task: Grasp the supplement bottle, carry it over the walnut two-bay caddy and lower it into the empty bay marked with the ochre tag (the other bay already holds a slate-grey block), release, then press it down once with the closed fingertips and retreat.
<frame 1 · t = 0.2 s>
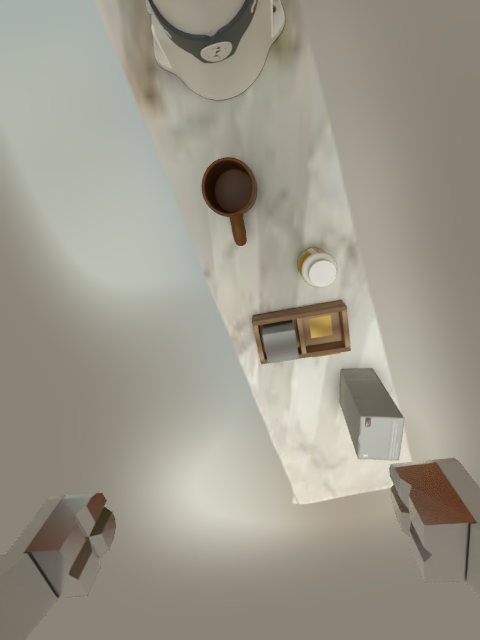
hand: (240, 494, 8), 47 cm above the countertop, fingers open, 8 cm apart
caddy: (299, 328, 57), on the countertop
supplement bottle: (312, 262, 52), on the countertop
skincare box: (353, 384, 60), on the countertop
mug: (237, 205, 50), on the countertop
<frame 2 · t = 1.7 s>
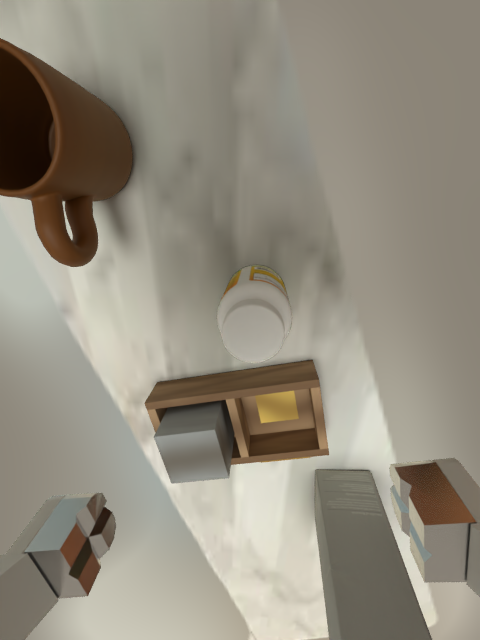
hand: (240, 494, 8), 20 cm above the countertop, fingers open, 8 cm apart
caddy: (240, 405, 32), on the countertop
supplement bottle: (256, 292, 28), on the countertop
skincare box: (337, 491, 36), on the countertop
mug: (102, 181, 25), on the countertop
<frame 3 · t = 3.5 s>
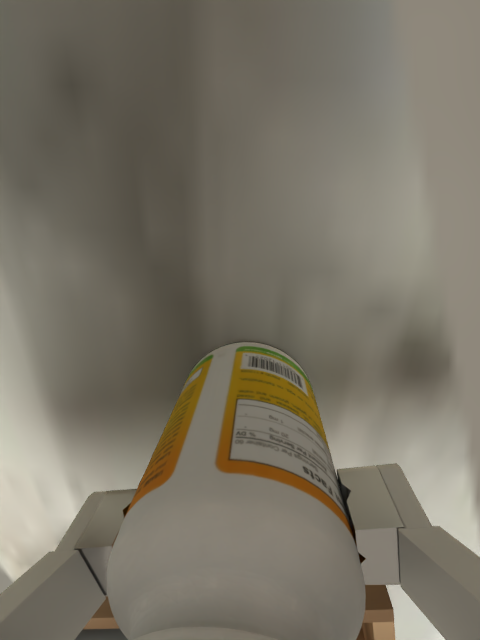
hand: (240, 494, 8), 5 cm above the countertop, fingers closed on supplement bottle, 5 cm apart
caddy: (221, 580, 17), on the countertop
supplement bottle: (248, 393, 13), on the countertop, touching gripper
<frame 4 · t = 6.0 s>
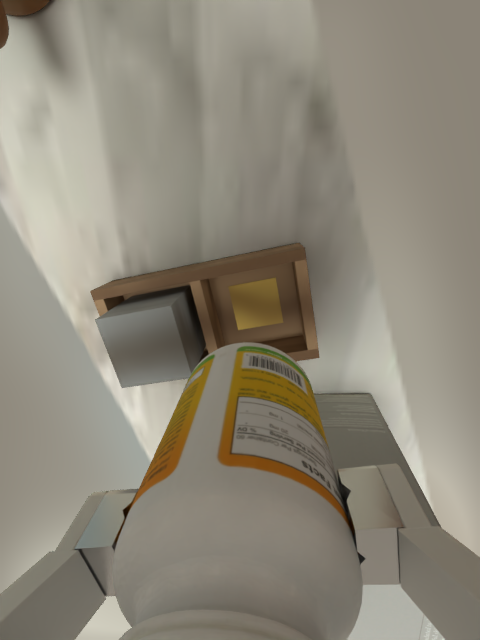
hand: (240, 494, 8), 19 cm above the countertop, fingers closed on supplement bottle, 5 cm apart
caddy: (213, 310, 26), on the countertop
supplement bottle: (249, 393, 13), point 14 cm above the countertop, touching gripper
skincare box: (332, 423, 30), on the countertop
when the fingers open (6 cm above the countertop, at t = 8.7 s): supplement bottle stays where it is, resting on caddy.
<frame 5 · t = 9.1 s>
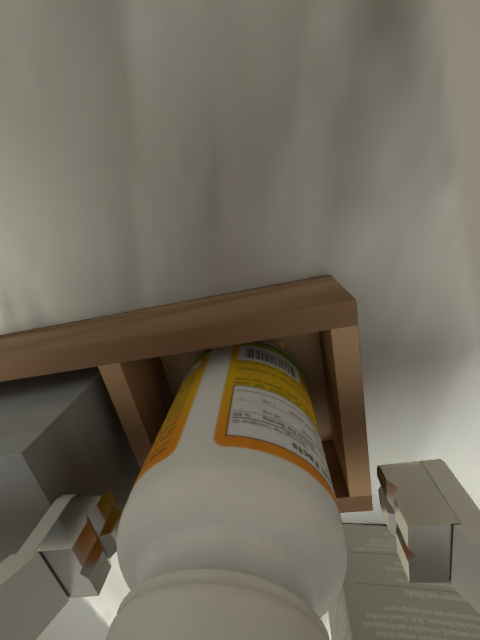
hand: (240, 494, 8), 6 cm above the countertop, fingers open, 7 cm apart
caddy: (169, 391, 15), on the countertop
supplement bottle: (246, 385, 14), resting on caddy
skincare box: (373, 563, 18), on the countertop
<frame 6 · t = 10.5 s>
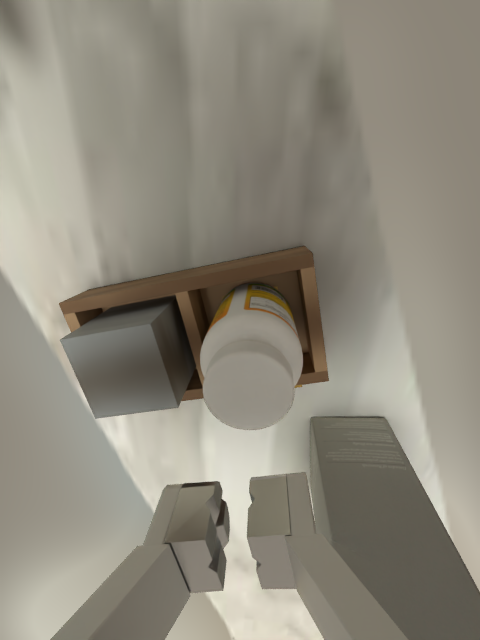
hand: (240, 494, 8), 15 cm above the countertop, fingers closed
caddy: (205, 323, 23), on the countertop
supplement bottle: (254, 316, 22), resting on caddy
skincare box: (340, 449, 26), on the countertop
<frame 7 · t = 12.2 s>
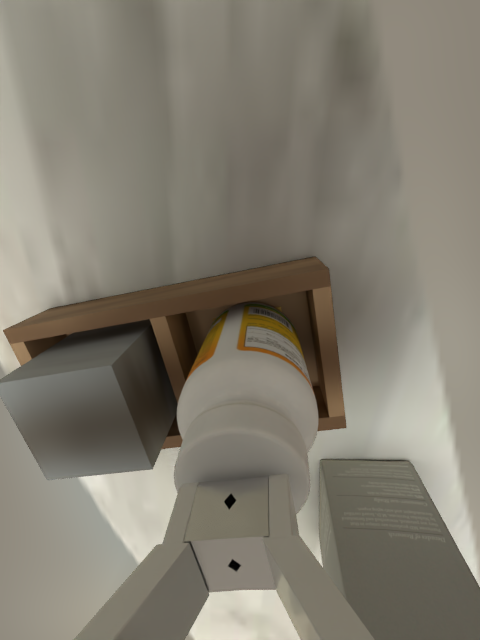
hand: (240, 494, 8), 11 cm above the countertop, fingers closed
caddy: (192, 349, 19), on the countertop
supplement bottle: (252, 342, 18), resting on caddy
skincare box: (355, 495, 22), on the countertop
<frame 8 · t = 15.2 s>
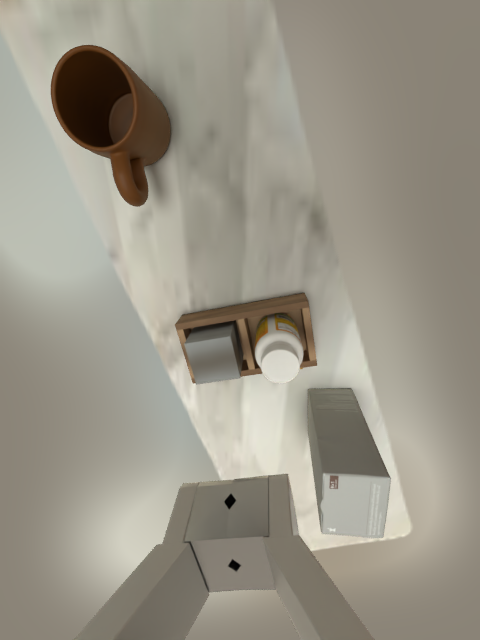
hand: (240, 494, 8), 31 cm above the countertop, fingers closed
caddy: (248, 333, 40), on the countertop
supplement bottle: (276, 330, 39), resting on caddy
skincare box: (326, 409, 44), on the countertop
mug: (146, 151, 34), on the countertop
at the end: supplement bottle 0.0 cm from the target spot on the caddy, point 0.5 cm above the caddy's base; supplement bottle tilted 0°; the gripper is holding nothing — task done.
